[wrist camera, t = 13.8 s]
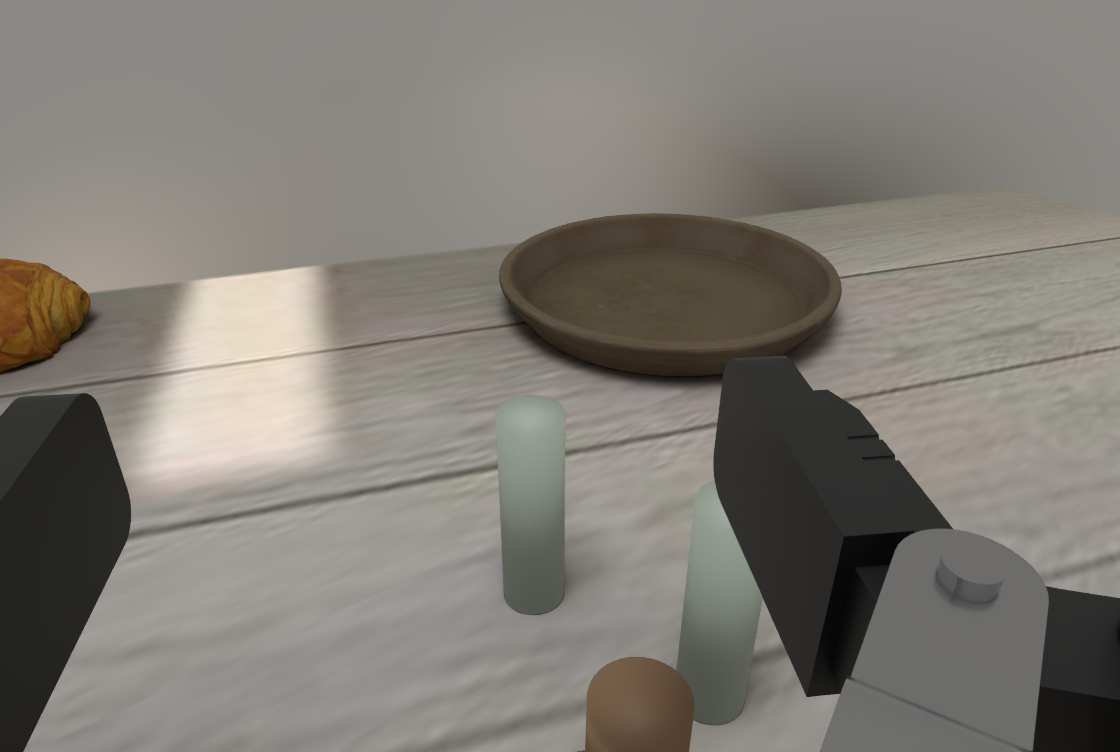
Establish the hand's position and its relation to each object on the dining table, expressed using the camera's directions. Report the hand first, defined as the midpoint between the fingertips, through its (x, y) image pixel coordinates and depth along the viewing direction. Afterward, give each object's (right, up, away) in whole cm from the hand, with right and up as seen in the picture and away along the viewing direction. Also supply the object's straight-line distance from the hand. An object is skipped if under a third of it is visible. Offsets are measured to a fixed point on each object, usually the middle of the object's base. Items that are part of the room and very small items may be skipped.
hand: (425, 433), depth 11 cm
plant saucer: (+12, +7, +68) cm, 69 cm away
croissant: (-48, +3, +61) cm, 78 cm away
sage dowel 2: (+9, -15, +30) cm, 35 cm away
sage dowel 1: (0, -11, +36) cm, 38 cm away
